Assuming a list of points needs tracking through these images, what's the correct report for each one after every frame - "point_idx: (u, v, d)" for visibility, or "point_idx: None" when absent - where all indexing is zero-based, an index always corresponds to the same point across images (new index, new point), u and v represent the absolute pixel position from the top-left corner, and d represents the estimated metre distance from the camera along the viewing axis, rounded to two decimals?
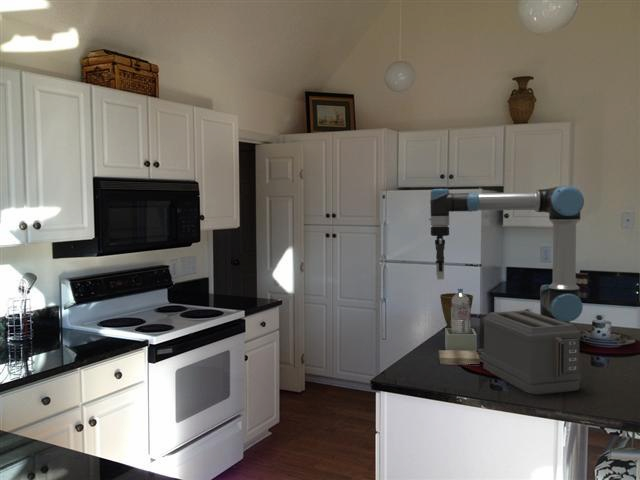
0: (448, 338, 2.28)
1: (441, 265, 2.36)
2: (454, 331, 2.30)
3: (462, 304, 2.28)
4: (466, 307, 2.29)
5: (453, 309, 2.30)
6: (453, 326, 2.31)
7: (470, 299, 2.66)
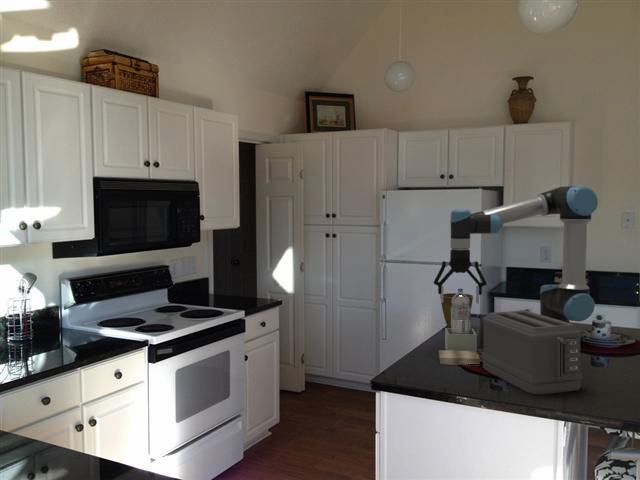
0: (448, 338, 2.28)
1: (438, 287, 2.32)
2: (454, 331, 2.30)
3: (462, 304, 2.28)
4: (466, 307, 2.29)
5: (453, 309, 2.30)
6: (453, 326, 2.31)
7: (470, 299, 2.66)
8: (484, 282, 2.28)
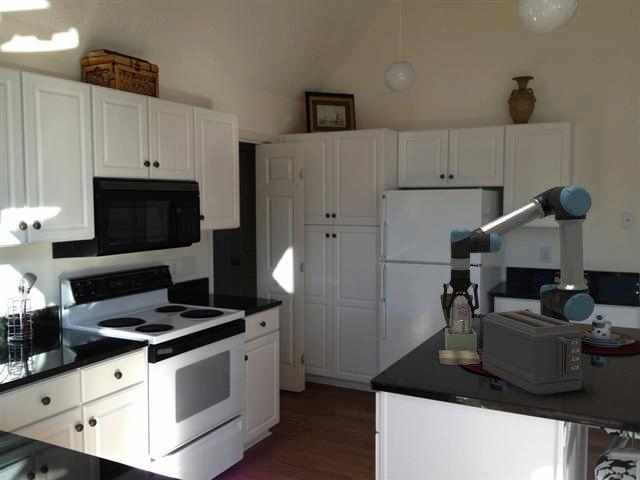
0: (448, 338, 2.28)
1: None
2: (454, 331, 2.30)
3: (462, 304, 2.28)
4: (466, 307, 2.29)
5: (453, 309, 2.30)
6: (453, 326, 2.31)
7: None
8: (477, 306, 2.29)
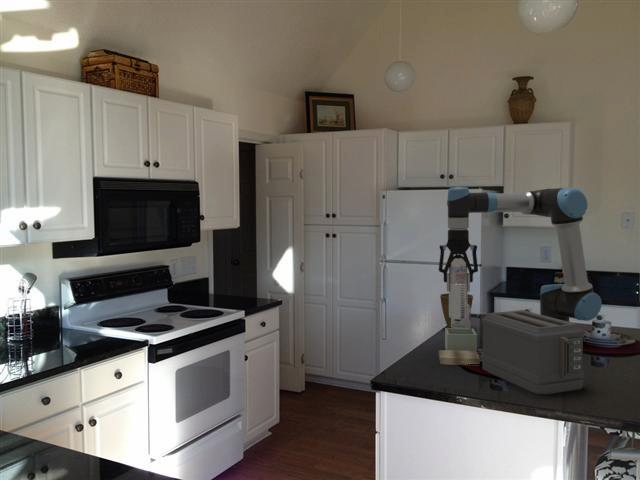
0: (448, 338, 2.28)
1: None
2: (451, 295, 2.16)
3: (460, 266, 2.14)
4: (464, 270, 2.15)
5: (450, 272, 2.16)
6: (450, 290, 2.17)
7: (470, 299, 2.66)
8: (476, 269, 2.15)
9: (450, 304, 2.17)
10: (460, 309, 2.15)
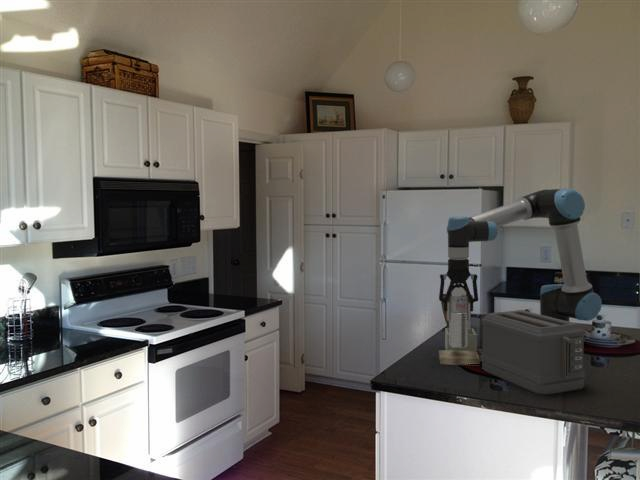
0: (448, 338, 2.28)
1: (444, 304, 2.18)
2: (452, 325, 2.16)
3: (460, 296, 2.14)
4: (464, 299, 2.15)
5: (451, 301, 2.17)
6: (451, 319, 2.17)
7: None
8: (476, 298, 2.16)
9: (450, 333, 2.17)
10: (460, 338, 2.15)
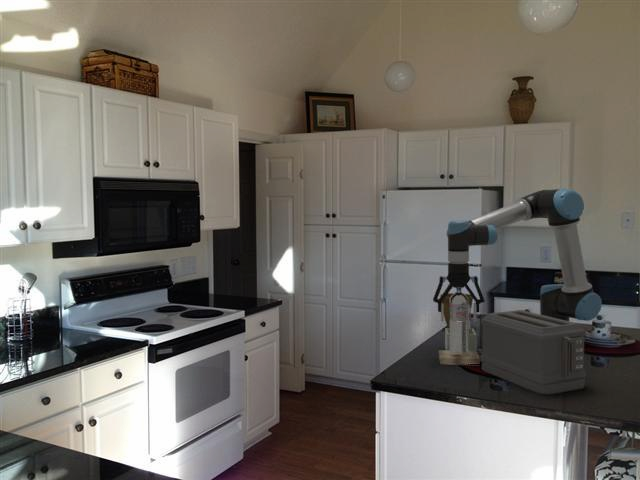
0: (448, 338, 2.28)
1: (438, 305, 2.19)
2: (452, 333, 2.17)
3: (461, 304, 2.15)
4: (465, 307, 2.15)
5: (451, 309, 2.17)
6: (451, 327, 2.17)
7: (470, 299, 2.66)
8: (482, 299, 2.15)
9: (451, 341, 2.18)
10: (461, 346, 2.15)
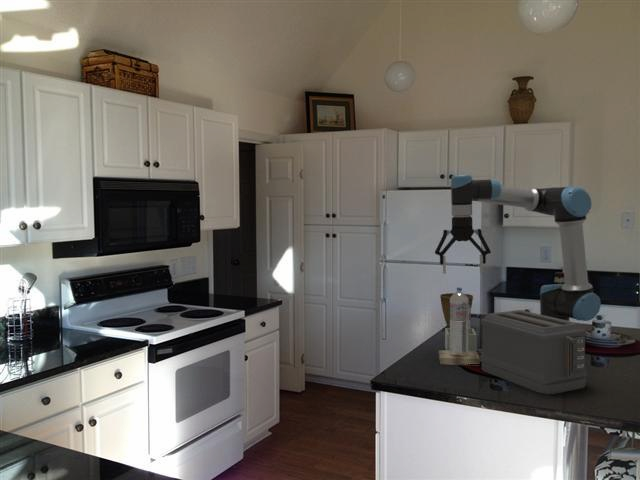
0: (448, 338, 2.28)
1: (440, 258, 2.21)
2: (452, 333, 2.17)
3: (461, 304, 2.15)
4: (465, 307, 2.15)
5: (451, 309, 2.17)
6: (451, 327, 2.17)
7: (470, 299, 2.66)
8: (488, 250, 2.17)
9: (451, 341, 2.18)
10: (461, 346, 2.15)
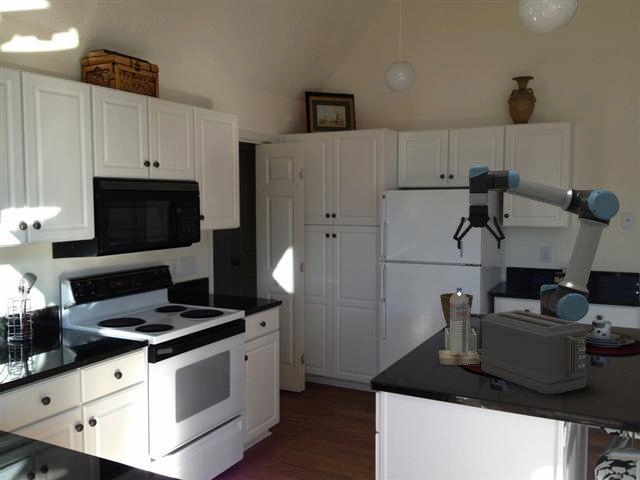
0: (448, 338, 2.28)
1: (457, 243, 2.38)
2: (452, 333, 2.17)
3: (461, 304, 2.14)
4: (465, 307, 2.15)
5: (451, 309, 2.17)
6: (451, 327, 2.17)
7: (470, 299, 2.66)
8: (502, 236, 2.34)
9: (451, 341, 2.18)
10: (461, 346, 2.15)
